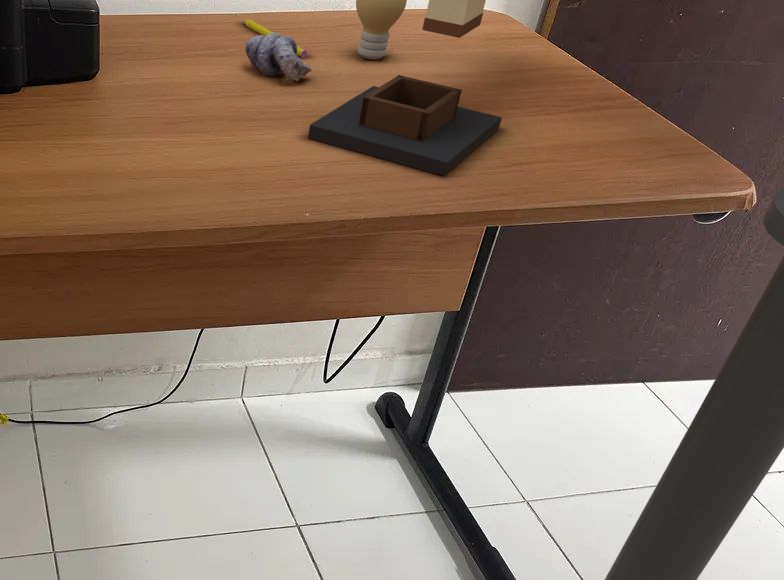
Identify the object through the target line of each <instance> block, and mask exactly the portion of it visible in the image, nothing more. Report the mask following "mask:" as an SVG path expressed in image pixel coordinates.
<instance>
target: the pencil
mask: <svg viewBox="0 0 784 580" xmlns="http://www.w3.org/2000/svg"><path fill="white" fill-rule="evenodd" d="M243 22H244V24H245V26H246V27H247V28H249V29H250V30H252V31H254V32H256V33H257V34H259V35H263V36H266V35H267V34H270V33H273V32H274V31H271V30H270V29H268V28H266V27H265V26H262V25H260V24H258V23H257V22H255V21H253V20H251V19H244V20H243ZM296 55H297V57H299V58H302V59H305V58H307V56H308V51H307V50H306V49H304V48H302V47H300V46H299V45H297V53H296Z"/></svg>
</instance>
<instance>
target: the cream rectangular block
mask: <svg viewBox="0 0 784 580" xmlns="http://www.w3.org/2000/svg"><path fill="white" fill-rule="evenodd" d="M486 1H487V0H428V3H427V8H426V13H425V17H424V18H423V19H424V20H423V25H422V29H421V30H422V31H425V32H430V33H435V34H438V35H444V36H448V37H454V38H457V39H460V38H462V37H464V36H465V35H467V34H468V33H470V32H472V31H473V30H475V29H476V28H478V27H479V26H481V23H482V20H483V15H484V9H485V4H486Z"/></svg>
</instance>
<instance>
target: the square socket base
mask: <svg viewBox="0 0 784 580" xmlns="http://www.w3.org/2000/svg"><path fill="white" fill-rule="evenodd" d="M461 96H462V89H460V88H457V87H452V86H447V85H443V84H439V83H435V82H431V81H427V80H422V79H418V78H415V77H409V76H405V75H401V74H398V75H396V76H395V77H393V78H392V79H389V80H388V81H386V82H385V83H383V84H382V85H380V86H376V85H373V86H371V87H369V88H368V89H366V90H364V91H363V92H361V93H359V94H358V95H356V96H354V97H353V98H351V99H349V100H348V101H346V102H344V103H343V104H341V105H340V106H338V107H337V108H335V109H333V110H331V111H330V112H329V113H327V114H325V115H324V116H322V117H320V118H319V119H316V121H314V122H312V123H310V124H309V129H308V134H307V138H308V139H311V140H314V141H317V142H320V143H326V144H328V145H332V146H335V147H338V148H343V149H346V150H349V151H353V152H356V153H361V154H364V155H366V156H367V155H368V156H372V157H375V158H378V159H381V160H386V161H389V162H393V163H395V164H399V165H403V166H405V167H411V168H413V169H416V170H420V171H424V172H427V173H430V174H435V175H439V176H442V177H444V176H446V175H447V174H449V172H450V171H451V170H453V169H454V168H455V167H456V166H458V165H459V164H460V163H462V161H463V160H465V159H466V158H467V157H468V156H469V155H471V154H472V153H473V152H474V151H476V150H477V149H478V148H479V147H480V146H481V145H483V144H484V143H485V142H486V141H488V139H490V138H491V137H492V136H493V135H495V134H496V133H497V132H498V131H499V129H500V126H501V122H502V119H503V116H498V115H494V114H491V113H486V112H482V111H478V110H474V109H470V108H466V107H462V106H459V103H460V99H461Z"/></svg>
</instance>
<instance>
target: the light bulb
mask: <svg viewBox="0 0 784 580" xmlns="http://www.w3.org/2000/svg"><path fill="white" fill-rule="evenodd" d="M406 7H407V0H355V8H356V13H357V16H358V18H359V21H360V22H361V24H362V26H363V29H362V30H361V32H360V39H359V41H358V42H359V46H358V49H357V51H358V52H357V53H358V54H359V55H360V56H361V57H362V58H363V59H367V60H379V59H382V58H383V57H385V56H386V55H387V52H388V51H387V49H388V45H389V39H390V30H391V28H392V27H393V26H394V25H395V24H396V23H397V21H398V20H399V19H401V16H402V15H403V14H404V11H405V9H406Z"/></svg>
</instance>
